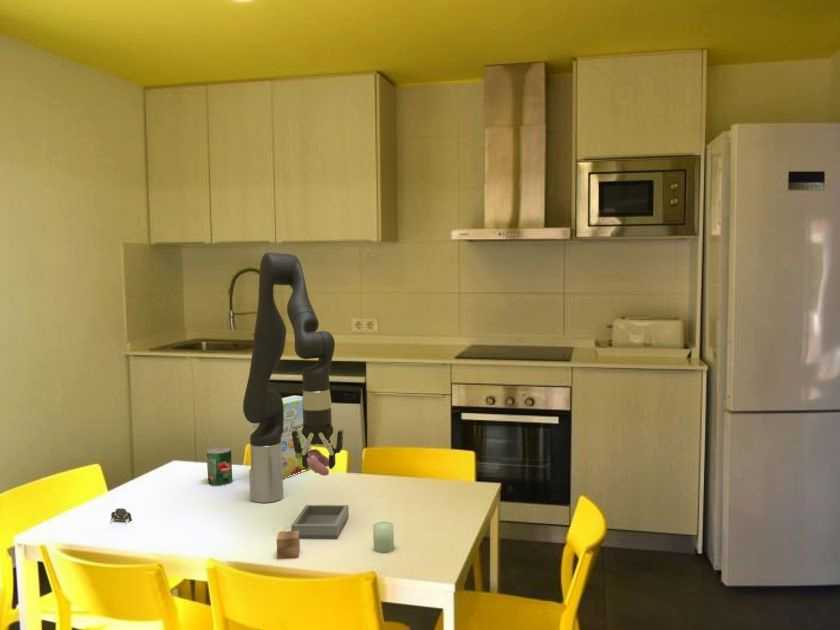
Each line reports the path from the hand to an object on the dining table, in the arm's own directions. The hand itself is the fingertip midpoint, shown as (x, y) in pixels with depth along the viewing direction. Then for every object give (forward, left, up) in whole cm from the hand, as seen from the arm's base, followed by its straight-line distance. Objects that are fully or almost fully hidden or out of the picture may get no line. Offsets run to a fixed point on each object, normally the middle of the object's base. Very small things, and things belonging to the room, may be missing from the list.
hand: (319, 467), depth 193 cm
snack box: (-24, +48, -17) cm, 56 cm away
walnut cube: (-4, -18, -16) cm, 25 cm away
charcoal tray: (0, 0, -16) cm, 16 cm away
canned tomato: (-43, +40, -17) cm, 61 cm away
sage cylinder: (+19, -14, -16) cm, 29 cm away
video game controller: (0, 0, -1) cm, 1 cm away
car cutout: (-54, +3, -17) cm, 57 cm away
